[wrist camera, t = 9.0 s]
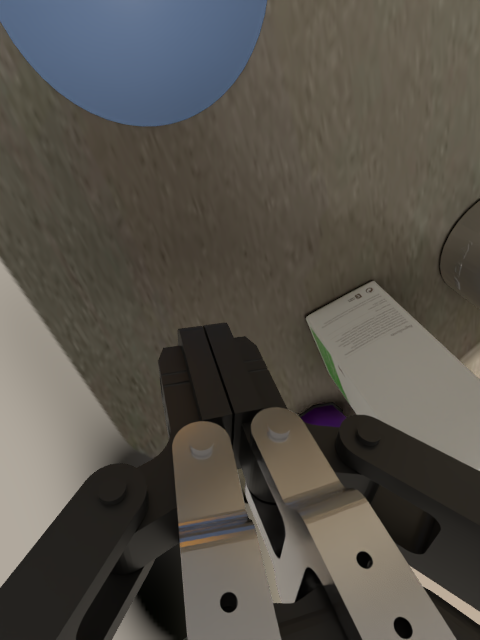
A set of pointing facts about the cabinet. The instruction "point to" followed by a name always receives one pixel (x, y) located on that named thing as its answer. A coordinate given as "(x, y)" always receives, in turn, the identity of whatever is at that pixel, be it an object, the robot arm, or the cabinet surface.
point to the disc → (136, 52)
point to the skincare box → (399, 372)
